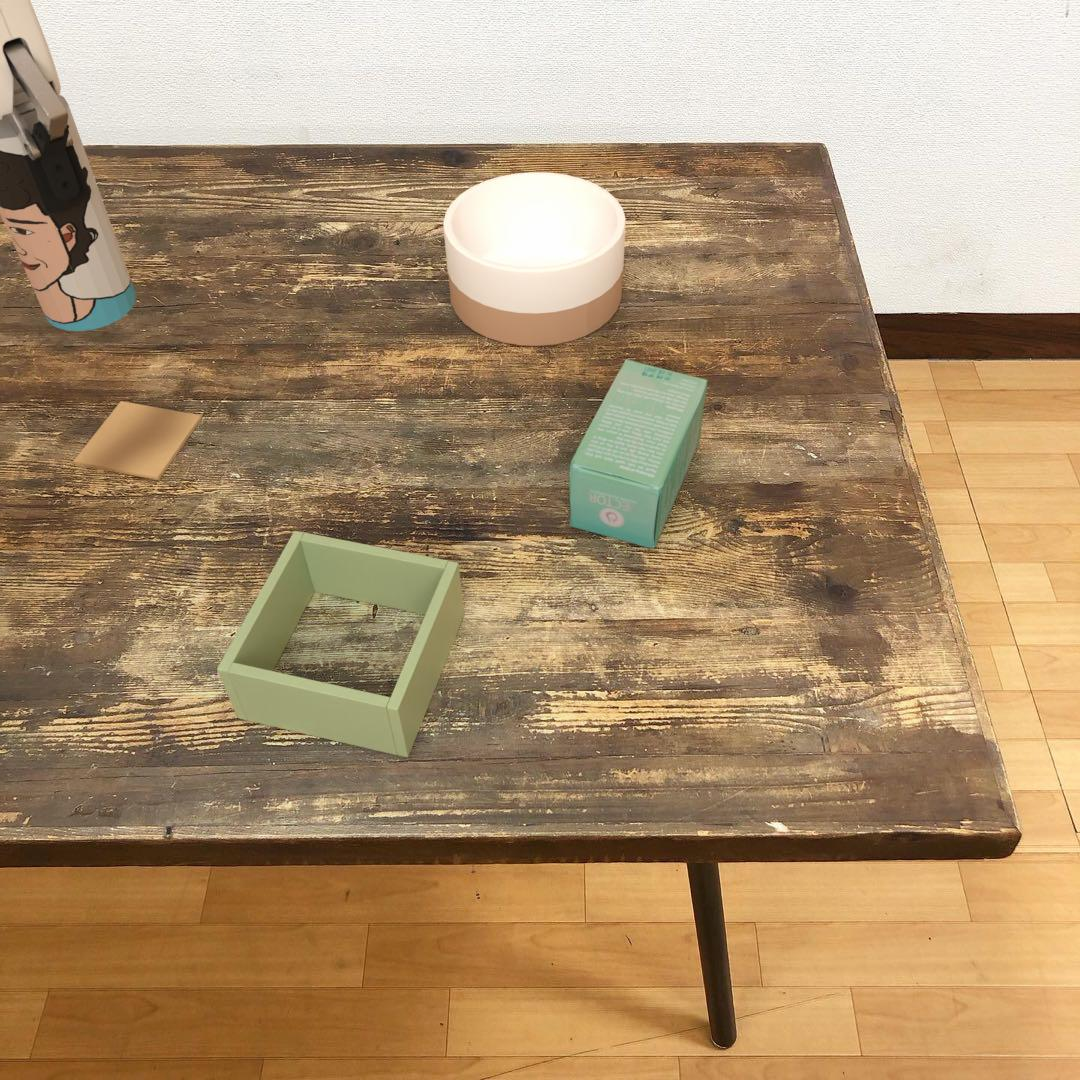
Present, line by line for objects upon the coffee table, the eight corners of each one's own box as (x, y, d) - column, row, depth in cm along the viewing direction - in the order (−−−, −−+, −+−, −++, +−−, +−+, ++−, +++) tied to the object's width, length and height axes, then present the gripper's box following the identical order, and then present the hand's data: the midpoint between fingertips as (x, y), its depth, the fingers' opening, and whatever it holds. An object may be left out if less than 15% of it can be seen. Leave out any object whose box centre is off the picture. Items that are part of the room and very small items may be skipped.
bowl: (587, 364, 99) (589, 288, 93) (420, 324, 104) (411, 249, 97) (645, 263, 110) (650, 189, 103) (491, 231, 114) (487, 158, 108)
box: (565, 530, 85) (566, 463, 80) (619, 423, 94) (623, 356, 88) (654, 555, 84) (661, 488, 78) (700, 444, 92) (710, 376, 86)
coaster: (74, 464, 91) (73, 461, 91) (122, 404, 97) (120, 400, 96) (158, 480, 90) (157, 477, 90) (202, 418, 95) (201, 415, 95)
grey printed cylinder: (55, 280, 83) (-24, 91, 72) (143, 275, 83) (78, 86, 72) (34, 333, 79) (-54, 141, 67) (127, 328, 79) (54, 136, 68)
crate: (237, 718, 74) (216, 669, 70) (308, 582, 82) (294, 530, 78) (408, 758, 72) (397, 709, 68) (464, 614, 80) (458, 562, 76)
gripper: (-200, -124, 63) (-66, 159, 76) (-74, -47, 54) (52, 256, 68) (-76, -154, 66) (32, 122, 79) (61, -86, 58) (156, 210, 71)
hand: (40, 182), depth 73 cm, fingers closed on grey printed cylinder, 6 cm apart
